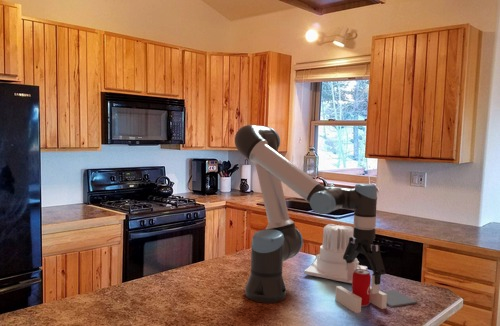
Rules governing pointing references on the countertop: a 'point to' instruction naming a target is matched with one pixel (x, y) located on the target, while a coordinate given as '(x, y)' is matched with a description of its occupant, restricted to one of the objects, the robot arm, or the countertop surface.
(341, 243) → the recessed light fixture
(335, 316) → the countertop surface
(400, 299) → the mat
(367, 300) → the beverage can
